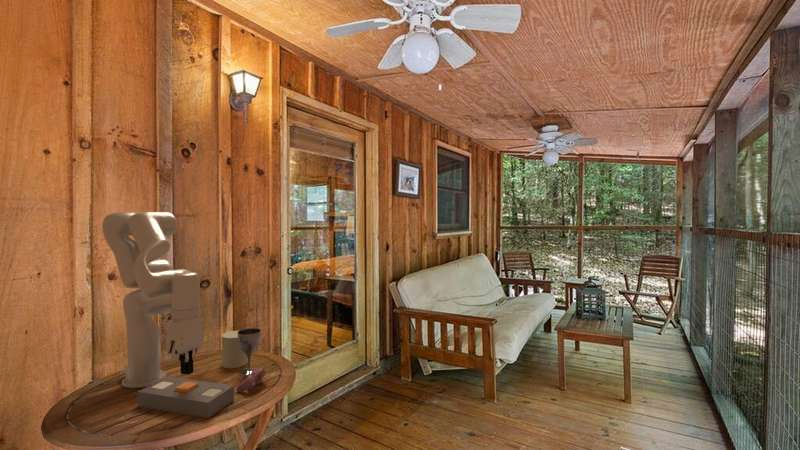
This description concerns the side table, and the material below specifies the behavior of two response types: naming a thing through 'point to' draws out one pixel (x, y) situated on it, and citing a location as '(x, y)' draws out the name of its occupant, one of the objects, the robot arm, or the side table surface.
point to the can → (232, 351)
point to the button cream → (162, 385)
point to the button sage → (211, 392)
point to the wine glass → (248, 345)
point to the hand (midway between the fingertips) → (187, 373)
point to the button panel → (186, 398)
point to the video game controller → (251, 380)
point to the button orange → (186, 387)
